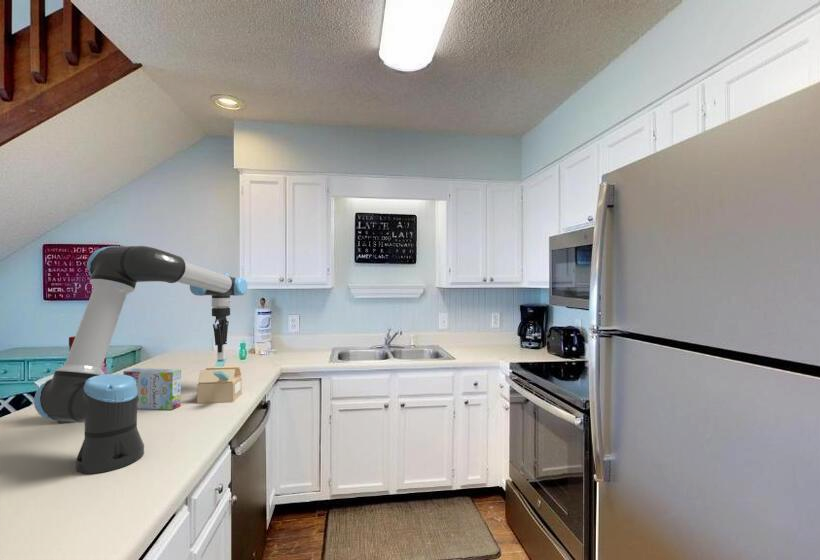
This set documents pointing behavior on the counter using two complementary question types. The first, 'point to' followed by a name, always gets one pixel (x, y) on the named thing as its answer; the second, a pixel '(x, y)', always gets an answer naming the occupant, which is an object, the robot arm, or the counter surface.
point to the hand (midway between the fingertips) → (221, 359)
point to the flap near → (216, 376)
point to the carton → (220, 391)
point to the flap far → (220, 365)
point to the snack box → (157, 388)
